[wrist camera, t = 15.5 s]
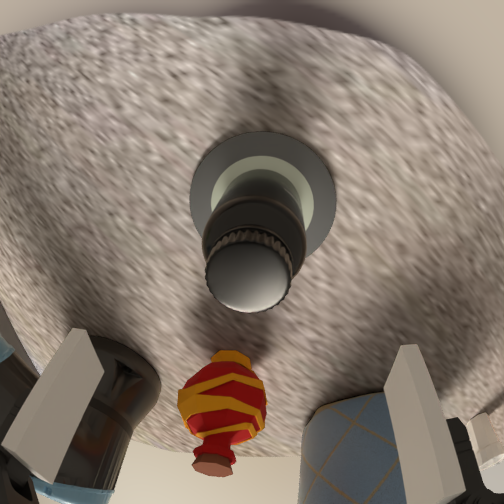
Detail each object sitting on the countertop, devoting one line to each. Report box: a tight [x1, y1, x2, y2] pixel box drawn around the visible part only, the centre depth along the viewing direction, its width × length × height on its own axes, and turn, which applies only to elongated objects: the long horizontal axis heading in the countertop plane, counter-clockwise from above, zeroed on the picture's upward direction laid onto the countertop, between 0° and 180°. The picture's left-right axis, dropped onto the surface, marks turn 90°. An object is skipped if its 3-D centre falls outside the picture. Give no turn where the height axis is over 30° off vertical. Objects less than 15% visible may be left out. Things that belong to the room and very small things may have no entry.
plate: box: [190, 131, 336, 258], centre depth 28 cm, size 13×13×1 cm
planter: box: [298, 392, 407, 504], centre depth 34 cm, size 23×23×24 cm
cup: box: [466, 412, 504, 471], centre depth 40 cm, size 7×7×11 cm
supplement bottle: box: [202, 169, 307, 313], centre depth 22 cm, size 7×7×12 cm
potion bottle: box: [177, 350, 267, 477], centre depth 32 cm, size 10×10×15 cm
